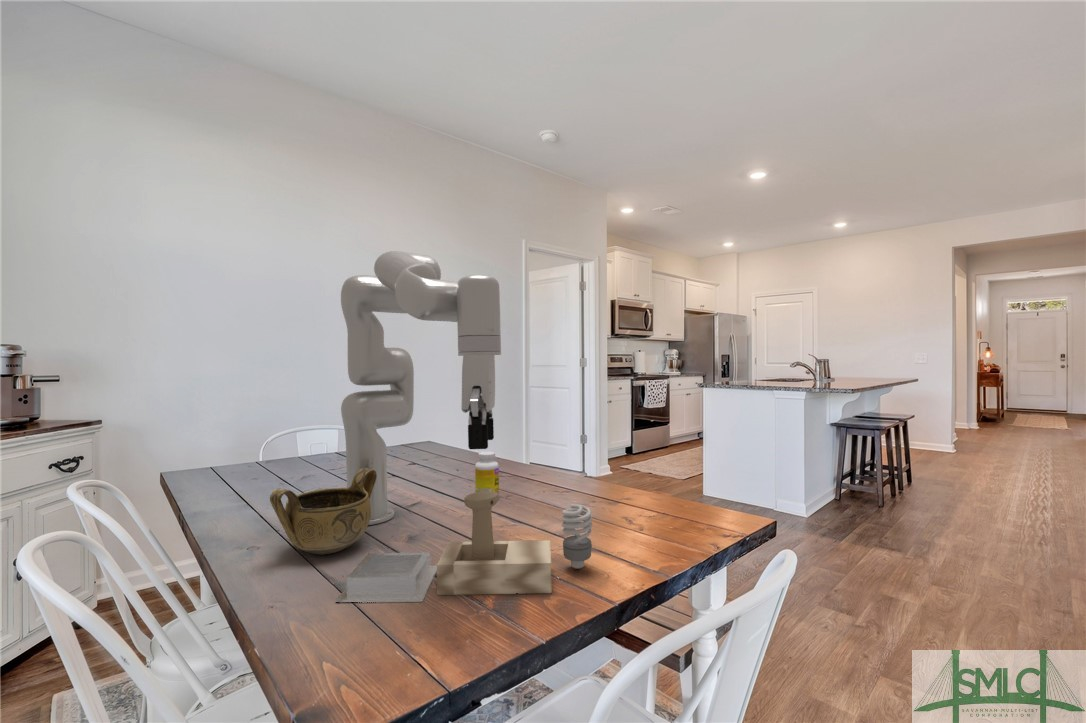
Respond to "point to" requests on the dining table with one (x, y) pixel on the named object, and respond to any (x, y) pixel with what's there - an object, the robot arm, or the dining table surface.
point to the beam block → (496, 569)
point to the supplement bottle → (486, 473)
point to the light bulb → (577, 535)
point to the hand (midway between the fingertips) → (481, 444)
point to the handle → (482, 524)
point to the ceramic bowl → (327, 514)
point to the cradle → (390, 578)
